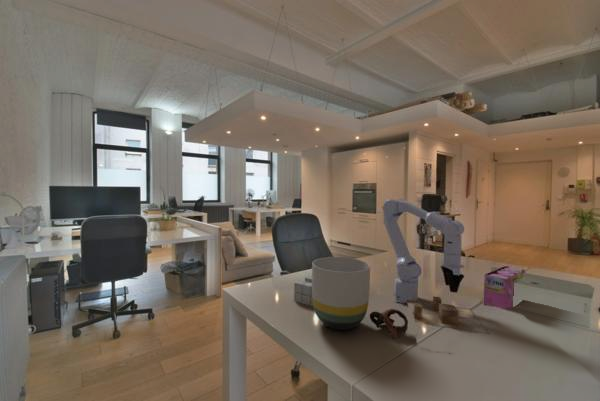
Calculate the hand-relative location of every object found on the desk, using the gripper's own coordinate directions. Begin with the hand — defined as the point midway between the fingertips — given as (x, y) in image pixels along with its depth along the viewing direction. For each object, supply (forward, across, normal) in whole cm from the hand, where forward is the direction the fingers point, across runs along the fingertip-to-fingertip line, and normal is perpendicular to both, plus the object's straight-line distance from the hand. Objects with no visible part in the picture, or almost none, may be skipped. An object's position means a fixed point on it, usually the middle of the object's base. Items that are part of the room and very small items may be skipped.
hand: (451, 288), depth 103 cm
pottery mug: (+10, -21, +23) cm, 33 cm away
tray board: (+10, -6, 0) cm, 11 cm away
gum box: (+10, +19, -25) cm, 33 cm away
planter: (+10, -22, +39) cm, 46 cm away
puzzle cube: (+10, -3, +53) cm, 54 cm away
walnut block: (+8, -10, +3) cm, 14 cm away
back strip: (+10, -1, -1) cm, 10 cm away
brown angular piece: (+10, -10, +7) cm, 16 cm away
